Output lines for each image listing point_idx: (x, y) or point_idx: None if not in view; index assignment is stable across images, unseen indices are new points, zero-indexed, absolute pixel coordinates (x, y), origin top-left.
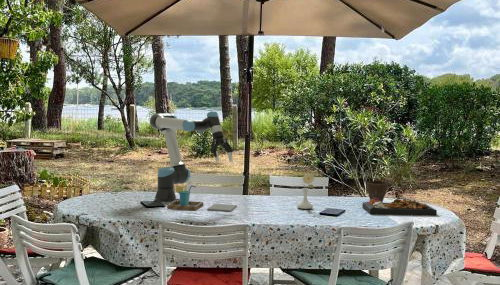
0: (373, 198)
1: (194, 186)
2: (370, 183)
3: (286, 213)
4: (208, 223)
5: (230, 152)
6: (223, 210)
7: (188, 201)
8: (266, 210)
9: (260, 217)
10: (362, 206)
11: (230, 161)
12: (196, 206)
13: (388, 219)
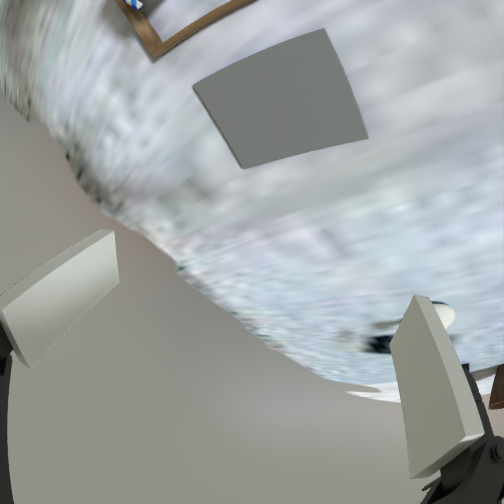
0: (497, 377)
1: (130, 4)
2: (496, 403)
3: (343, 295)
4: (106, 201)
5: (417, 468)
6: (231, 143)
7: None
8: (357, 250)
9: (247, 262)
10: (468, 365)
11: (407, 313)
12: (158, 54)
13: (376, 381)
